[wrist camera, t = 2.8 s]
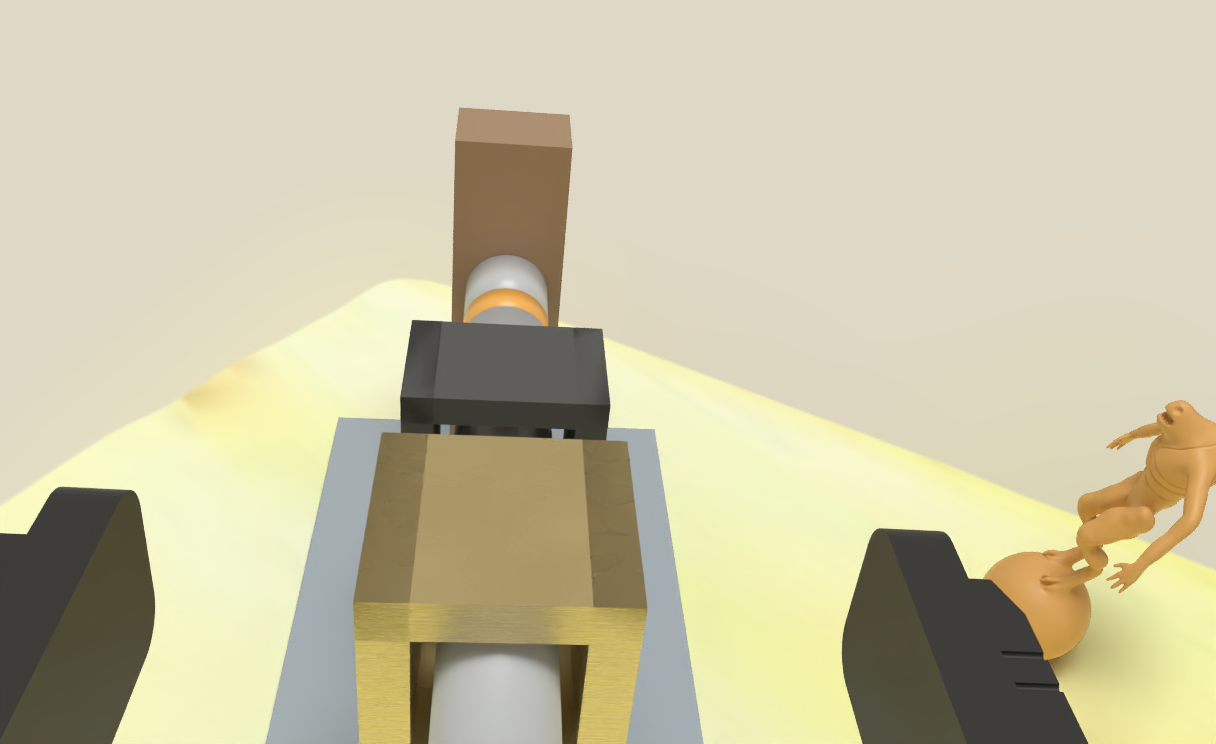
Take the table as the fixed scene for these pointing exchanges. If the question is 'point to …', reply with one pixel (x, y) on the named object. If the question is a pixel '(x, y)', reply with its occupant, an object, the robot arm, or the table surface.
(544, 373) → the dark grey slab
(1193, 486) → the figurine
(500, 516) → the sleeve
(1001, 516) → the table surface
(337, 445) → the pipe rig
